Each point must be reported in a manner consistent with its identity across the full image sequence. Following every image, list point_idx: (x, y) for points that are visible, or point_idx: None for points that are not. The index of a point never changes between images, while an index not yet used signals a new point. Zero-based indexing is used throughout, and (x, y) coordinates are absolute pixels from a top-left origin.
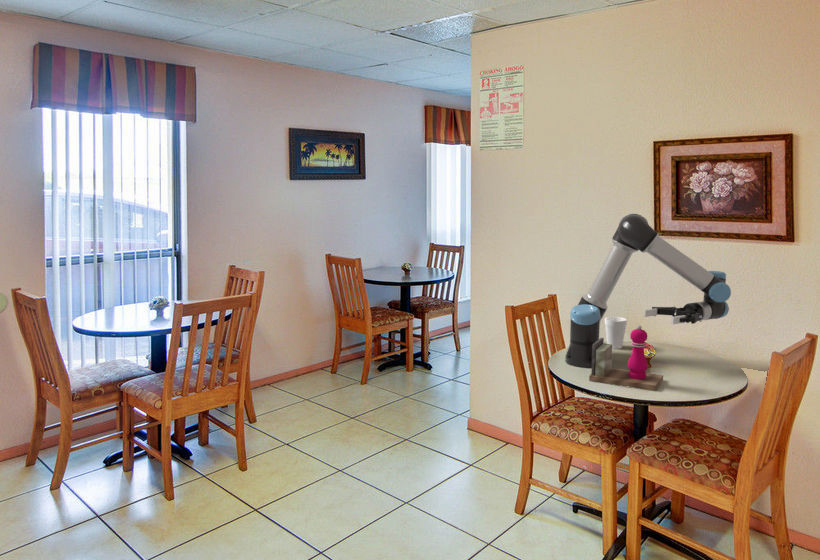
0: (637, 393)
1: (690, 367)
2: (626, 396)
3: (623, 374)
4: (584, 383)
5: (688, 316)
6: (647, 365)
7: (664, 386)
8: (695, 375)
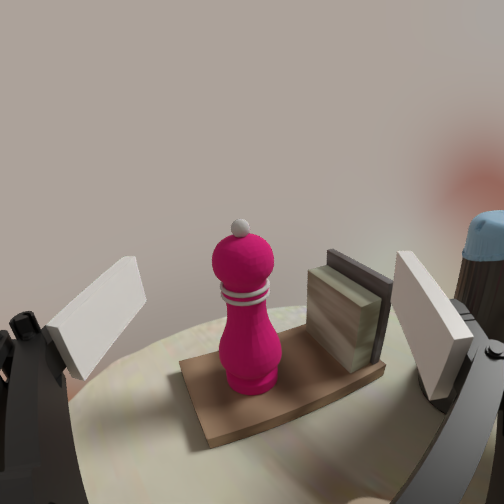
0: (204, 341)
1: None
2: (211, 321)
3: (292, 368)
4: None
5: (28, 328)
6: (219, 355)
7: (179, 409)
8: None
